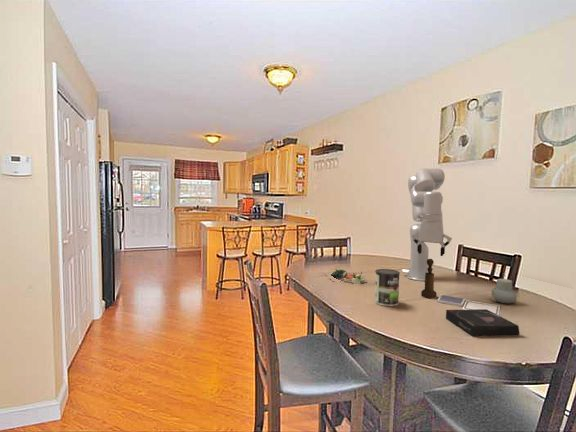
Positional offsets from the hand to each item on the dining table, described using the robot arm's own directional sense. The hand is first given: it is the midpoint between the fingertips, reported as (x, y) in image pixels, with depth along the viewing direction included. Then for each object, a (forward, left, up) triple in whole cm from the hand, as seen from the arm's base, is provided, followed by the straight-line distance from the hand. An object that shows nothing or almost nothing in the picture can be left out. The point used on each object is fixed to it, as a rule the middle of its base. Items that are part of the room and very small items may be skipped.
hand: (430, 254), depth 158 cm
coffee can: (-14, -21, -20) cm, 32 cm away
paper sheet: (+22, -4, -20) cm, 30 cm away
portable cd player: (+23, -28, -21) cm, 42 cm away
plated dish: (-45, +9, -21) cm, 51 cm away
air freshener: (+29, +12, -20) cm, 38 cm away
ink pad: (+10, -2, -20) cm, 22 cm away
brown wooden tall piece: (0, 0, -20) cm, 20 cm away
